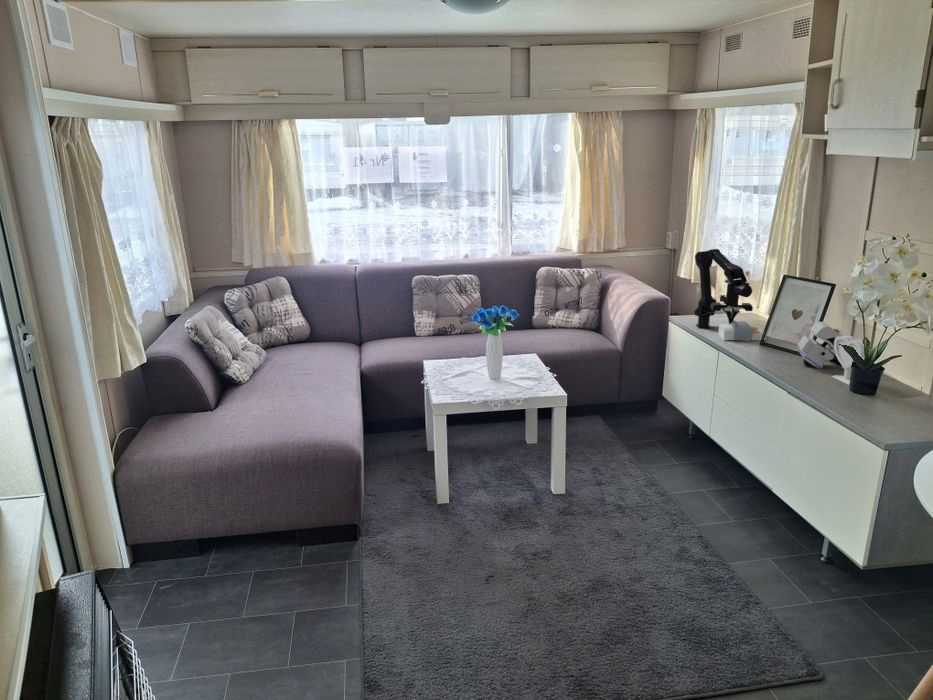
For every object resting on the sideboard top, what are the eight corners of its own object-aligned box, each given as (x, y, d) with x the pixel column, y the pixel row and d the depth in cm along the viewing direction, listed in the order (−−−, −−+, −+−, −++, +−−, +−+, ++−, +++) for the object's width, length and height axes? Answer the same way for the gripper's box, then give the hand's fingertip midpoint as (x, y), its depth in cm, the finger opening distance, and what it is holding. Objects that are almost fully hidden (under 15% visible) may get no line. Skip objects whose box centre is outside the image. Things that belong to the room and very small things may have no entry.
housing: (718, 333, 360) (719, 324, 358) (759, 334, 358) (760, 324, 356) (723, 340, 349) (724, 330, 347) (766, 341, 346) (767, 331, 345)
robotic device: (833, 386, 306) (867, 351, 299) (793, 358, 305) (827, 322, 299) (826, 378, 316) (859, 343, 309) (787, 351, 315) (819, 315, 308)
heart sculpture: (828, 374, 299) (833, 333, 293) (838, 373, 300) (844, 332, 294) (854, 387, 284) (860, 344, 279) (865, 386, 285) (871, 343, 280)
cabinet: (728, 332, 360) (729, 317, 358) (744, 332, 359) (745, 317, 357) (734, 340, 347) (735, 324, 345) (751, 340, 346) (753, 324, 344)
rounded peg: (747, 336, 355) (748, 326, 353) (755, 336, 354) (756, 326, 353) (749, 338, 351) (750, 328, 349) (757, 338, 350) (758, 328, 349)
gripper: (748, 289, 353) (745, 319, 358) (709, 289, 356) (707, 319, 361) (754, 294, 343) (751, 325, 348) (714, 294, 345) (711, 325, 350)
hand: (730, 323), depth 352 cm, fingers closed
